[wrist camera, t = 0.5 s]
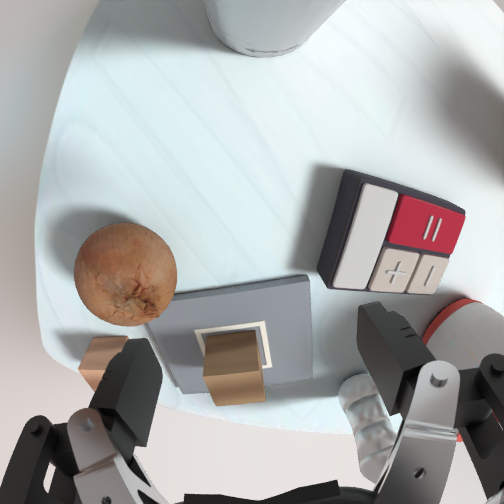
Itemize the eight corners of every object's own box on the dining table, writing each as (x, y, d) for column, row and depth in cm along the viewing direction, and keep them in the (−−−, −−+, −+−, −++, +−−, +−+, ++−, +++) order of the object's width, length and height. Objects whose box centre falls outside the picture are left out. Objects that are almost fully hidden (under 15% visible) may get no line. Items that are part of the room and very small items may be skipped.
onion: (179, 237, 30) (215, 286, 22) (132, 302, 30) (153, 365, 23) (107, 189, 24) (113, 226, 16) (61, 266, 24) (55, 330, 17)
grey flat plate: (142, 298, 30) (139, 305, 28) (307, 274, 29) (310, 281, 28) (183, 387, 37) (183, 394, 35) (310, 372, 36) (312, 379, 35)
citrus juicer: (460, 357, 40) (508, 434, 22) (392, 367, 38) (441, 472, 20) (500, 287, 33) (569, 361, 15) (437, 282, 31) (527, 391, 13)
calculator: (435, 299, 28) (327, 293, 26) (417, 280, 32) (314, 270, 29) (471, 213, 24) (364, 177, 21) (448, 200, 27) (343, 167, 25)
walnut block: (206, 335, 31) (202, 376, 25) (255, 329, 31) (259, 370, 25) (217, 367, 33) (215, 406, 28) (261, 362, 33) (265, 401, 28)
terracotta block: (93, 337, 32) (77, 369, 27) (127, 335, 32) (113, 370, 27) (110, 365, 35) (98, 397, 29) (143, 364, 35) (133, 398, 29)
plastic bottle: (374, 362, 37) (424, 477, 19) (373, 386, 40) (412, 489, 22) (333, 375, 37) (370, 499, 19) (336, 399, 40) (366, 506, 22)
